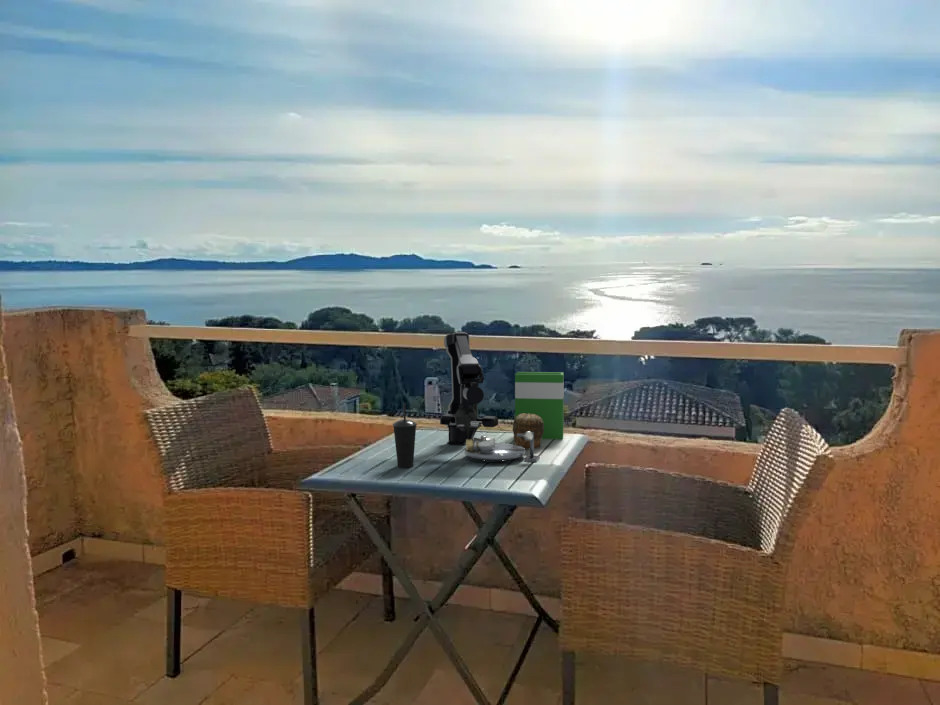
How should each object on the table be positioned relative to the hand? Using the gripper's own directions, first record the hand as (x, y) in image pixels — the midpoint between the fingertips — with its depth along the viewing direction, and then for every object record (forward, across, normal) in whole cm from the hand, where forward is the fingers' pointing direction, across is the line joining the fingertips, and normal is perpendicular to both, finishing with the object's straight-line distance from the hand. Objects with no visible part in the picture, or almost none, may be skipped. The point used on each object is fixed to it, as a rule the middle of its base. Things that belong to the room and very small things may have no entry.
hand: (469, 446), depth 246 cm
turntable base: (+3, +9, 0) cm, 10 cm away
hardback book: (+4, +16, +38) cm, 41 cm away
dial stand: (+3, +20, 0) cm, 20 cm away
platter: (+2, +9, 0) cm, 9 cm away
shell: (+4, +16, +19) cm, 25 cm away
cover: (+1, +5, 0) cm, 5 cm away
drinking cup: (+4, -15, -19) cm, 25 cm away
